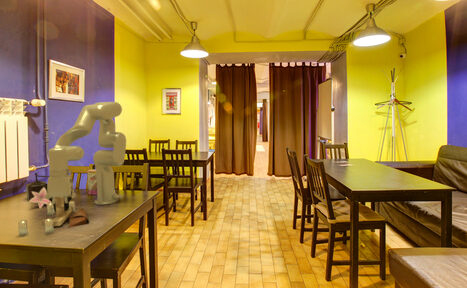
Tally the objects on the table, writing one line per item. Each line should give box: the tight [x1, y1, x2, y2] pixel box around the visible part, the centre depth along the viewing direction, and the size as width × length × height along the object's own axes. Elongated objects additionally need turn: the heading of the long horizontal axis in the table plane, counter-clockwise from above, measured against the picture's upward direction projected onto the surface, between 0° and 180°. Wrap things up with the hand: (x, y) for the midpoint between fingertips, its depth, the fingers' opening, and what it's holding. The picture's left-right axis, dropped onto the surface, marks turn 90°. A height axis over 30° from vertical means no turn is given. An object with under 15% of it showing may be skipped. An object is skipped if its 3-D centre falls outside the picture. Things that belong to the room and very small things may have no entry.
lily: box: [28, 188, 51, 209], centre depth 153 cm, size 12×12×10 cm
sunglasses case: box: [67, 207, 90, 228], centre depth 131 cm, size 18×7×7 cm, turn 35°
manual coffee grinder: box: [25, 170, 50, 202], centre depth 170 cm, size 16×11×18 cm
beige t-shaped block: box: [53, 197, 73, 227], centre depth 128 cm, size 4×16×12 cm, turn 12°
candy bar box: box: [86, 169, 97, 196], centre depth 177 cm, size 11×5×16 cm, turn 86°
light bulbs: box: [17, 200, 76, 237], centre depth 127 cm, size 13×29×6 cm, turn 12°
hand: (61, 210), depth 128 cm, fingers closed on beige t-shaped block, 3 cm apart
